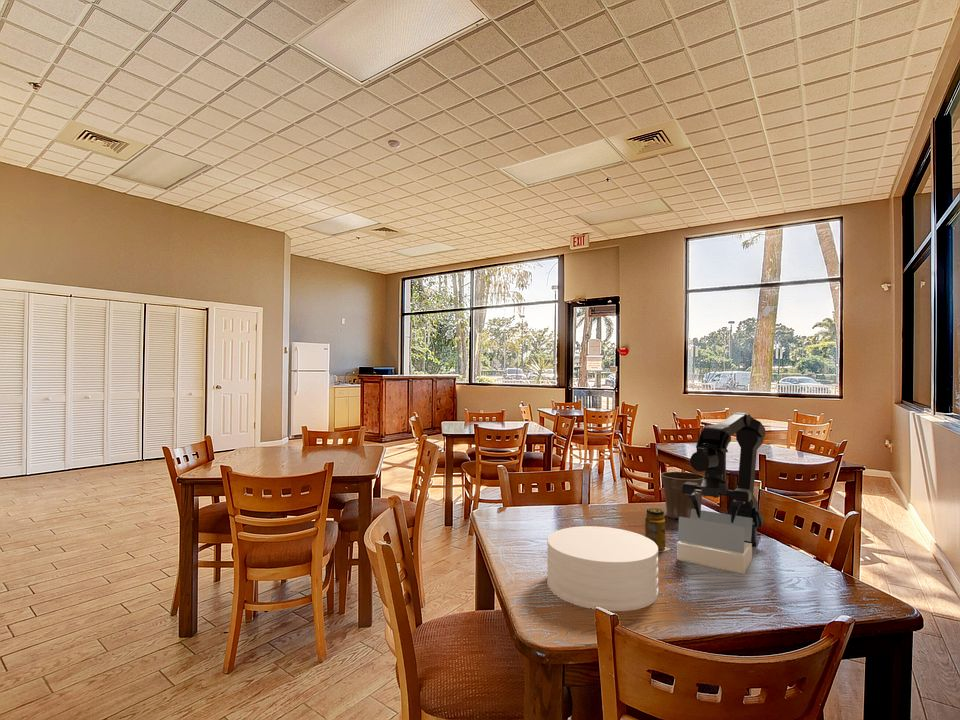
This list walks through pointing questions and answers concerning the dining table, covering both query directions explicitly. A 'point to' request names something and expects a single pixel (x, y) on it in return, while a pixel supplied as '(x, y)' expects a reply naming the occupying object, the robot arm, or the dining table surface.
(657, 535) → the condiment
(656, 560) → the plate stack
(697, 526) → the flap
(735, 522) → the flap
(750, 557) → the carton
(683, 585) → the dining table surface
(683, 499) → the plant pot
